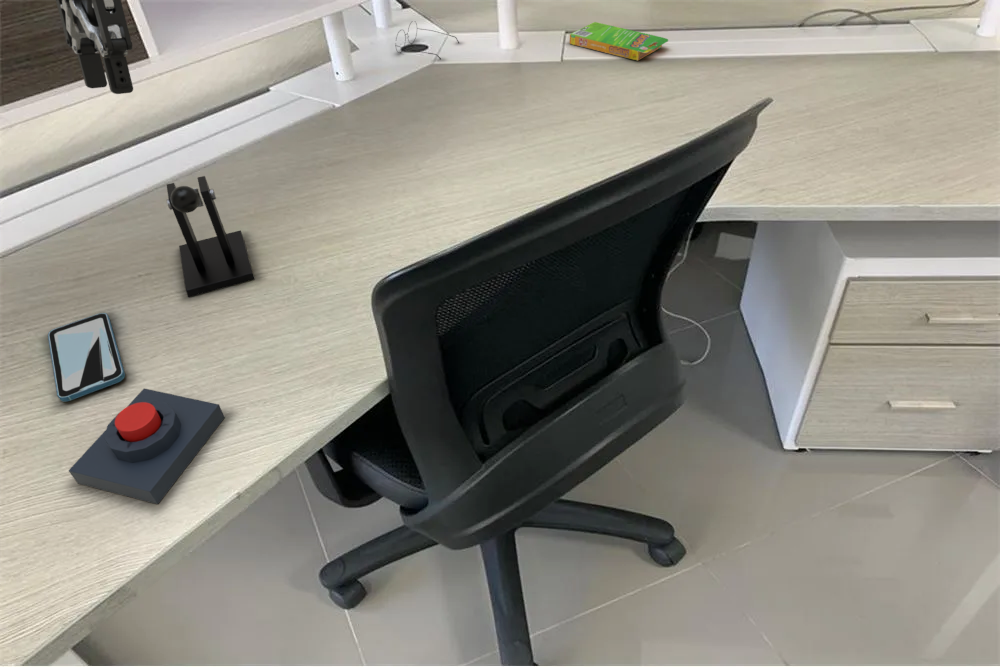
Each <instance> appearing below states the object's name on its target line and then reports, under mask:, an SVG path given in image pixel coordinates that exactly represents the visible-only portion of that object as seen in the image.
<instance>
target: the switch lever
mask: <svg viewBox="0 0 1000 667" xmlns="http://www.w3.org/2000/svg"><path fill="white" fill-rule="evenodd" d="M170 199H171V203H172V205H173V207H174V208H175V209H176V210H178V211H180V212H183V213H186V214H187V213H188V214H189V213H192V212H194V211H195V210H197V208H201V207H204V201H203V198H202V195H201V193H200V190H199V188H193V187H191V186H188V185H179V186H176V188H175V189H174V190H173V192H172V193H171V198H170Z"/></svg>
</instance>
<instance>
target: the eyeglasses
mask: <svg viewBox="0 0 1000 667" xmlns="http://www.w3.org/2000/svg"><path fill="white" fill-rule="evenodd" d="M411 24H412V22H410V23H409V25H408V29H407V31H410V30H409V29H410V26H411ZM415 24H416V26H418V24H417V22H415ZM416 30H420V28H419V27H416ZM423 30H424V31H427V29H426V28H421V31H423ZM401 31H403V33H404V38H405V39H404V42H406V40H407V41H408V43H409V44H411V45H412V44H413V42H415V41H416V39H417V35H418V32H416V34H415V38H414V40H413V42H410V40H409V38H410V35H407V33H406V32H405V30H404V29H400V30H399V31H398V32H397V34H396V36H395V40H397V39H398V35H399V33H400V32H401ZM428 31H429V32H435V33H438V34H441V35H446V36H449V37H453V38H455V39H456V42H457V43H458V44H460V41H459V40H458V38H457V36H455V35H452V34H447V33H443V32H439V31H436V30H431V29H428ZM406 35H407V36H406ZM394 45H395V47H397V48H398V47H399V48H401V49H402V50H401V51H398V49H397V48H395V50H396V53H398V54H401V53H402V52H403V51H404V50H408V51H411V52H418V53H421V51H420V50H414V49H408V48H406V47H405V46H406V44H404V46H400V45H397V44H394ZM422 53H424V54H429V55H435V56H436V57H438V59H439V60H440V61H441V60H442V58H441V57H440V56H439V55H438V54H437V53H433V52H432V53H431V52H425V51H422Z"/></svg>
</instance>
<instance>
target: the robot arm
mask: <svg viewBox="0 0 1000 667" xmlns="http://www.w3.org/2000/svg"><path fill="white" fill-rule="evenodd" d="M55 2H56V6H57V10H58V14H59V18H60V22H61V25H62V26H61V27H62V29H63V34H64V38H65V42H66V45H67V46H68V48H71V49H72V51H73V52H74V54H76V55H77V60H78V62H79V67H80V70H81V74H82V78H83V81H84V84H85V86H86V87H87V88H89V89H101V88H106V87H107V86H108V87H109V91H110V92H111V93H112V94H114V95H122V94H123V95H124V94H131V93H133V91H134V85H133V81H132V78H131V72H130V69H129V65H128V61H127V57H126V56H128V54H129V51H132V50H133V42H132V40H131V39H132V38H131V35H130V31H129V27H128V24H127V19H126V16H125V12H124V11H125V10H124V8H123V3H122V0H55Z"/></svg>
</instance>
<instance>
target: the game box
mask: <svg viewBox="0 0 1000 667" xmlns="http://www.w3.org/2000/svg"><path fill="white" fill-rule="evenodd" d="M668 42H669V39H668V38H666V37H663V36H657V35H653V34H649V33H645V32H640V31H636V30H631V29H628V28H623V27H620V26H619V27H618V26H614V25H610V24H606V23H601V22H597V21H594V22H591V23H589V24H588V25H586V26H584V27H581V28H580V29H577V30H575V31H573V32H571V33H569V44H570V45H573V46H577V47H581V48H584V49H585V48H586V49H589V50H593V51H596V52H601V53H605V54H609V55H613V56H617V57H621V58H624V59H630V60H633V61H637V62H639V61H640V60H641V59H644V58H645V57H647V56H648V55H650V54H652V53H654V52H656V51H657V50H659V49H661V48H662V47H663V45H664V44H666V43H668Z"/></svg>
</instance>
